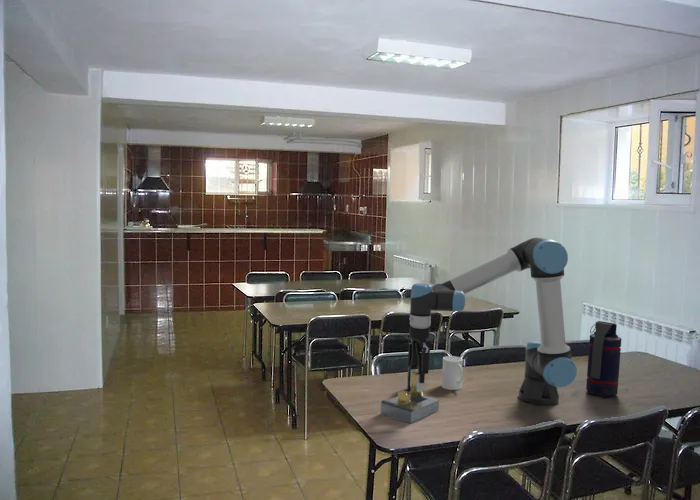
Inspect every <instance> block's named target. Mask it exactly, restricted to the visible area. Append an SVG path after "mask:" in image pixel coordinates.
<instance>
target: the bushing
mask: <svg viewBox="0 0 700 500" xmlns="http://www.w3.org/2000/svg"><path fill="white" fill-rule="evenodd" d="M417 373H418V372H412V373H411V388H410V391H409V392H410V393H411V396H413V397H422V396H423V395H424V391H419V392H417V391H416V387H417Z"/></svg>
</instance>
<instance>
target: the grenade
mask: <svg viewBox="0 0 700 500" xmlns="http://www.w3.org/2000/svg"><path fill="white" fill-rule="evenodd" d="M617 326H618V325H617V323H614V322H608V321H601V320H598V321H595V323H594V324H592V326H591V327H590V330H589V333H590V335H589V341H588V343H589V344H588V355H587V356H588V357H587V359H588V360H587V368H586V369H587V371H586V385H585V386H586V387H585V389H586V391H587V394H589V393H591V394H593V395H598V396H602V397H603V399H610V397H614V396H617V395H618V391H619V390H618V389H619V376H620V366H621V363H620V362H621V350H622V348H621V347H622V338H621V337H620V336H618V335H619V334H617ZM593 327H594V329H593V330H592V328H593Z"/></svg>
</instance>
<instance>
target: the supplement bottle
mask: <svg viewBox="0 0 700 500" xmlns="http://www.w3.org/2000/svg"><path fill="white" fill-rule="evenodd" d="M417 366H418V365H417ZM416 369H418V368H416ZM410 377H411V369H410V366H408V369H407V382H406V385H407V386H406V387H407V388H406V389H407V390H408V392H410V388H411V387H410Z"/></svg>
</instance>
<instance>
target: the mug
mask: <svg viewBox="0 0 700 500" xmlns="http://www.w3.org/2000/svg"><path fill="white" fill-rule="evenodd" d="M463 363H464V362H463V358H461V357H459V356H455V355H446V356H443V357H442V372H441V384H440V387H441V388H443V389H445V390H449V391H459V390H461V389H462V388H463V386H462V381H463V380H464V371H463Z"/></svg>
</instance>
